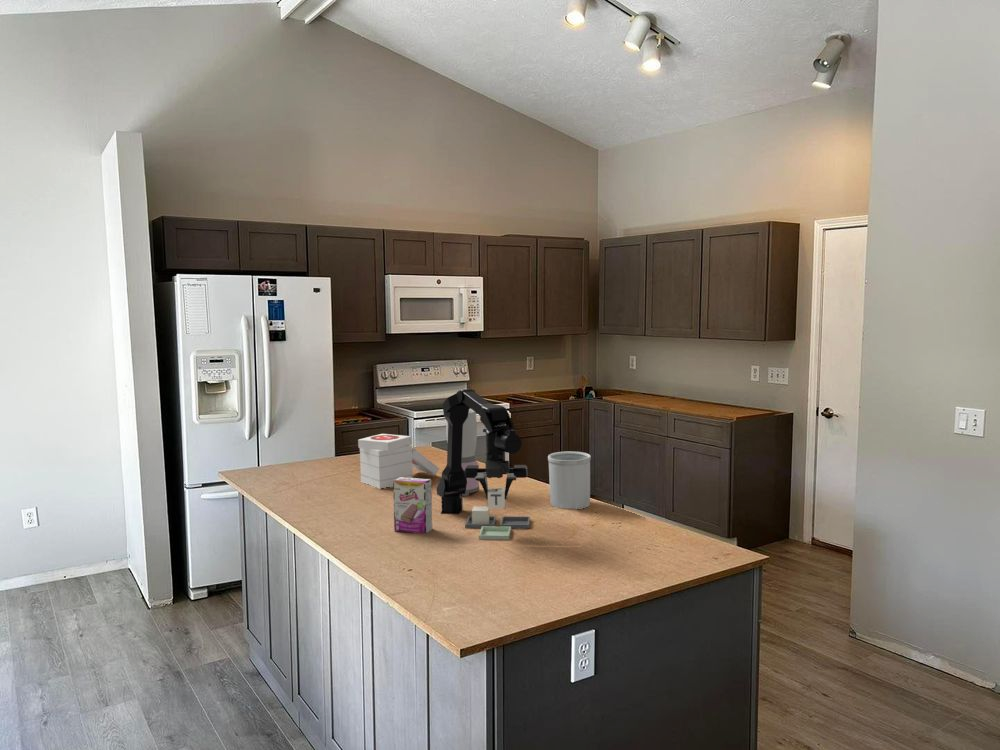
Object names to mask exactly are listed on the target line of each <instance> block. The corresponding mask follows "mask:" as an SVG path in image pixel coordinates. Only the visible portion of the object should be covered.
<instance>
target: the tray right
mask: <svg viewBox="0 0 1000 750" xmlns="http://www.w3.org/2000/svg"><path fill="white" fill-rule="evenodd" d="M530 523H531V516H520V515H519V516H517V515H516V516H513V515H512V516H504V515H502V517H501V519H500V524H499V527H511V530H514V529H518V530H519V529H521V530H522V529H523V530H527V529H530Z"/></svg>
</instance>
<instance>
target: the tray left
mask: <svg viewBox="0 0 1000 750" xmlns="http://www.w3.org/2000/svg"><path fill="white" fill-rule="evenodd" d="M496 522H497V516H496V515H494V516H493V515H491V516H490V515H489V524H472V515H468V517H467V519H466V521H465V523H464V528H465V529H481V528H482V526H496Z"/></svg>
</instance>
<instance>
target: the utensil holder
mask: <svg viewBox="0 0 1000 750" xmlns="http://www.w3.org/2000/svg"><path fill="white" fill-rule="evenodd" d="M591 459H592V456H591V454H589V453H587V452H582V451H573V450H572V451H569V450H568V451H558V452H552V453H550V454H548V456H547V461H548V476H549V481H548V482H549V499H550V501H549V502H550V506H551V505H552V506H553V507H552V506H551V507H552V508H556V509H563V510H577V509H579V510H583V508H584V509H586V507H587V508H588V507H590V505H591Z"/></svg>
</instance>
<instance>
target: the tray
mask: <svg viewBox="0 0 1000 750" xmlns="http://www.w3.org/2000/svg"><path fill="white" fill-rule="evenodd" d="M511 532H512V529H511V527H500V526H496V525H495V526H482V528H480V531H479V534H478V540H483V541H484V540H491V541H492V540H493V541H496V540H501V541H502V540H503V541H508V540H509V541H510V536H511Z"/></svg>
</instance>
